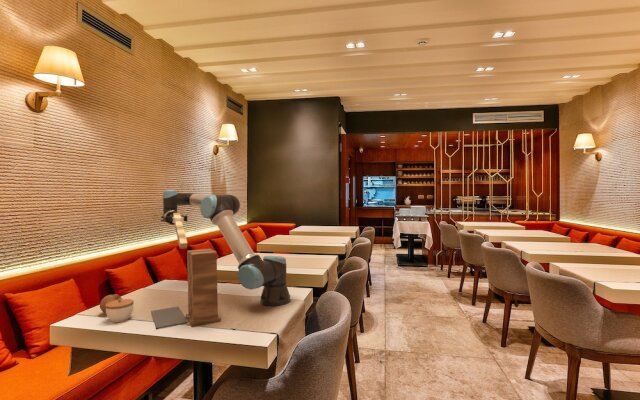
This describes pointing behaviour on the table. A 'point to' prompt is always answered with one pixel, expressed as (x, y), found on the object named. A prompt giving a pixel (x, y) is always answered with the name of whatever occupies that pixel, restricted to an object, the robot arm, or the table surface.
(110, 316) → the lidded jar
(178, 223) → the maple bar
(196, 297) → the walnut pedestal
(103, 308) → the onion
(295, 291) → the table surface
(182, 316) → the rubber mat
